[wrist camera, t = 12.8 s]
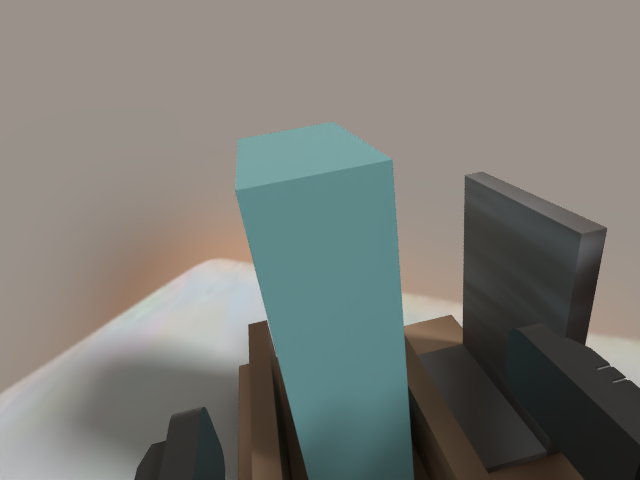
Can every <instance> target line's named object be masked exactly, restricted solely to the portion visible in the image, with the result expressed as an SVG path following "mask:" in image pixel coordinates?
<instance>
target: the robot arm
mask: <svg viewBox="0 0 640 480" xmlns="http://www.w3.org/2000/svg"><path fill="white" fill-rule="evenodd" d="M506 376H507V381H508V384H509V386H510V388H511V390H512V392H513V394H514V395H515V397H516V398H517V399H518V400H519V402H520V403H521V404H522V405H523V406H524V408H525V409H526V410H527V411H528V412H529V414H530V415H531V416H532V417H533V418H534V420H535V421H536V422H537V423H538V424H539V426H540V427H541V428H542V429H543V431H544V432H545V433H546V434H547V435H548V437H549V438H550V439H551V440H552V441H553V443H554V444H555V445H556V446H557V447H558V449H559V450H560V451H561V452H562V453H563V455H564V456H565V457H566V458H567V459H568V461H569V462H570V463H571V464H572V466H573V467H574V468H575V469H576V470H577V472H578V473H579V474H580V475H581V476H582V478H583V479H584V480H640V388H639V387H638V386H637V385H635V384H634V383H633V382H632V381H630V380H627V379H626V377H625V376H624V375H623V374H622V373H620V372H619V371H618V370H617V369H616V368H614V367H611V366H610V364H609V363H608V362H607V361H606V360H604V359H603V358H602V357H601V356H600V355H598V354H597V353H596V352H595V351H593V350H592V349H591V348H589V347H587V346H585V345H583V344H580V343H578V342H576V341H574V340H572V339H570V338H568V337H567V338H563V339H562V338H561V337H559V336H558V335H557V334H556V333H555V332H554V331H552V330H551V329H550V328H549V327H548V326H546V325H545V324H543V323H536V324H532V325H528V326H524V327H520V328H517V329H513V330H511V331H510V333H509V341H508V353H507V366H506ZM134 480H225V464H224V456H223V452H222V448H221V445H220V442H219V440H218V437H217V435H216V432H215V429H214V427H213V424H212V422H211V419H210V416H209V414H208V411H207V409H206V408H205V407H202V408H198V409H194V410H190V411H186V412H182V413H178V414H174V415H173V416H172V417H171V419H170V423H169V429H168V434H167V439H166V441H163V442H160V443H156V444H152V445H151V447H150V448H149V450H148V452H147V453H146V455H145V456H144V458H143V460H142V461H141V463H140V464H139V466H138V468H137V471H136V475H135V479H134Z"/></svg>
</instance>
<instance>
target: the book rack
mask: <svg viewBox="0 0 640 480" xmlns="http://www.w3.org/2000/svg"><path fill="white" fill-rule="evenodd" d="M464 208H465V209H464V211H465V212H464V276H463V277H464V278H463V281H464V282H463V328H462V327H461V326H460V325H459V323H458V322H457V321H456V320H455V319H454V317H453V316H452V315H448V316H444V317H440V318H436V319H432V320H428V321H423V322H419V323H415V324H411V325H407V326H404V339H405V354H406V369H407V383H408V398H409V413H410V428H411V442H412V457H413V472H414V480H584V479H583V478H582V476H581V475H580V474H579V473H578V472H577V470H576V469H575V468H574V467H573V466H572V464H571V463H570V462H569V461H568V459H567V458H566V457H565V456H564V455H563V453H562V452H561V451H560V450H559V449H558V447H557V446H556V445H555V444H554V443H553V441H552V440H551V439H550V438H549V437H548V435H547V434H546V433H545V432H544V431H543V429H542V428H541V427H540V426H539V424H538V423H537V422H536V421H535V420H534V418H533V417H532V416H531V415H530V414H529V412H528V411H527V410H526V409H525V408H524V406H523V405H522V404H521V403H520V402H519V400H518V399H517V398H516V397H515V395H514V394H513V392H512V390H511V388H510V386H509V384H508V381H507V376H506V366H507V353H508V341H509V333H510V331H511V330H513V329H517V328H520V327H524V326H528V325H532V324H536V323H543V324H545V325H546V326H548V327H549V328H550V329H551V330H552V331H554V332H555V333H556V334H557V335H558V336H559V337H561V338H562V339H563V338H567V337H568V338H570V339H572V340H574V341H576V342H578V343H580V344H583V345H585V343H586V338H587V332H588V327H589V322H590V316H591V311H592V306H593V300H594V295H595V290H596V285H597V279H598V274H599V268H600V263H601V258H602V253H603V248H604V242H605V237H606V232H607V228H606V227H604V226H602V225H599V224H597V223H595V222H593V221H591V220H588V219H586V218H584V217H582V216H579V215H577V214H575V213H573V212H571V211H568V210H566V209H564V208H562V207H559V206H557V205H555V204H553V203H551V202H548V201H546V200H544V199H542V198H540V197H537V196H535V195H533V194H531V193H528V192H526V191H524V190H522V189H520V188H517V187H515V186H513V185H510V184H508V183H506V182H504V181H502V180H499V179H497V178H495V177H493V176H490V175H488V174H486V173H484V172H479V173H474V174H469V175H465V207H464ZM248 329H249V364H246V365H242V366H239V449H238V480H309V479H308V475H307V472H306V468H305V464H304V460H303V456H302V452H301V448H300V444H299V440H298V436H297V432H296V428H295V424H294V420H293V416H292V412H291V408H290V405H289V401H288V397H287V393H286V389H285V385H284V381H283V377H282V373H281V369H280V365H279V361H278V357H276V355H275V351H274V347H273V343H272V339H271V335H270V331H269V327H268V323H267V320H266V321H262V322H257V323H253V324H249V325H248Z"/></svg>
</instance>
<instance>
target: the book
mask: <svg viewBox="0 0 640 480" xmlns="http://www.w3.org/2000/svg"><path fill="white" fill-rule="evenodd" d="M236 168H237V169H236V185H235V192H236V196H237V200H238V203H239V207H240V211H241V215H242V219H243V223H244V227H245V231H246V235H247V239H248V242H249V247H250V250H251V254H252V258H253V263H254V267H255V271H256V274H257V278H258V282H259V286H260V290H261V294H262V298H263V302H264V306H265V310H266V314H267V318H268V322H269V326H270V330H271V334H272V338H273V341H274V345H275V349H276V353H277V357H278V361H279V365H280V369H281V373H282V377H283V381H284V385H285V389H286V393H287V397H288V401H289V405H290V408H291V412H292V416H293V420H294V424H295V428H296V432H297V436H298V440H299V444H300V448H301V452H302V456H303V460H304V464H305V468H306V472H307V475H308V479H309V480H414V472H413V457H412V442H411V428H410V413H409V398H408V383H407V369H406V354H405V339H404V325H403V310H402V295H401V282H400V266H399V251H398V236H397V221H396V208H395V192H394V177H393V162H392V159H391V158H389V157H387V156H386V155H384V154H383V153H381V152H380V151H378V150H377V149H375V148H373V147H372V146H370V145H369V144H367V143H366V142H364V141H362V140H361V139H359V138H358V137H356V136H355V135H353V134H351V133H350V132H348V131H347V130H345V129H344V128H342V127H341V126H339V125H338V124H336V123H334V122H331V123H325V124H319V125H314V126H309V127H303V128H298V129H292V130H287V131H281V132H276V133H270V134H265V135H260V136H254V137H249V138H244V139H238V149H237V167H236Z"/></svg>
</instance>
